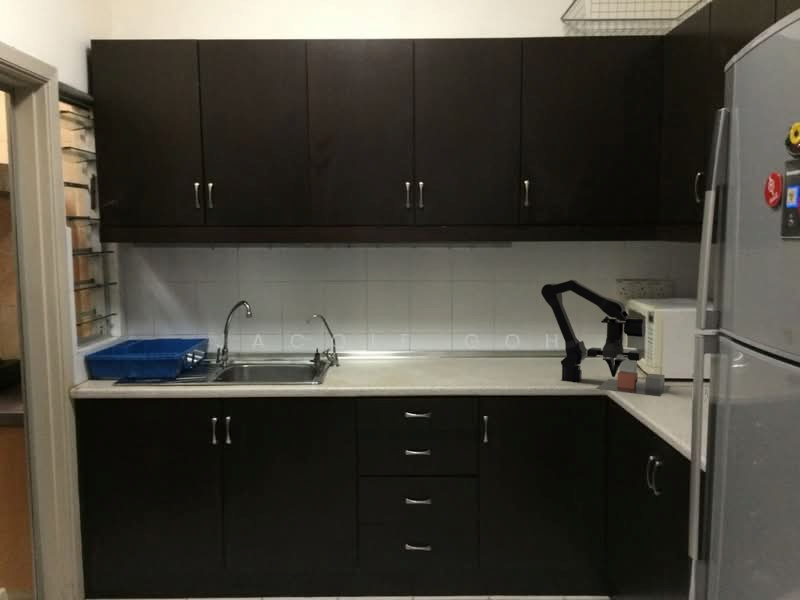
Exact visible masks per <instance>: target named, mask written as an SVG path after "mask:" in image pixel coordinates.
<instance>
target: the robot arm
mask: <svg viewBox="0 0 800 600" xmlns="http://www.w3.org/2000/svg"><path fill="white" fill-rule="evenodd" d="M567 292H572V293H574V294H576V295H578V296H580V297H581V298H583V299H585V300H587V301H588V302H590V303H592V304H594V305H595V306H597V307H598V308H599V309H600V310H601V311H602V312H603V313H604V314H605V315H607V316H605V317H604V318H603V319H602V320H601V323H603V324H606V338H605V342H604V345H603V347H602V348H601V347H590V348H588V349H587V347H586V346H585V342H584V340H581V341H580V340H579V339H578V338H577V337H576V334H575V331H574V328H573V326H572V324H571V321H570V319H569V316H568V314H567V311H566V309H565V307H564V304H563V294H564V293H567ZM540 294H541V296H542V298H543V299H544V300H545V302H546V303H547V305H548V306H549V307H550V308H551V310H552V313H553V316H554V318H555V321H556V322H557V325H558V327H559V331H560V332H561V335H562V337H563V340H564V345H565V353H566V356H565V357H564V358H563V359H561V361H560V365H561V379H560V382H561V381H562V382H569V383H580V382H581V381H582V377H583V376H582V374H583V373H582V369H581V363H583V361H584V360H585V359H586V358H588V357H589V358H596V357H597V356H602V361H605V362H606V364H607V365H608V368H609V371H610V374H611V377H612V378H616V375H617V374H618V372H619V366H620V364H621V362H623V361H624V360H626V358H625V357H627V358H628V359H629V360H633V361H637V362H639V361H641V360H642V359H643V354H642V353H643V352H641V351H639V350H637V351H629V352H628V353H627V352H623V351H624V350H623V347H624V344H623V343H624V335H626V336H627V337H632V338H633V337H634V338H644V337H645V334H646V325H645V319H644V318H641V317H640V318H633V317H632V318H631V316H630V315H629V313H628V312H627V311H626V307H625V304H624V303H623V302H622V301H621V300H617V299H613V298H611V297H606V296H604V295H602V294H600V293H599V292H597V291H595V290H592V289H591V288H589V287H587V286H586V285H584V284H582V283H580V282H578V281H577V279H569V280H567V281H564V282H560V283H548V284H544V285H543V286H542V287H541V292H540Z"/></svg>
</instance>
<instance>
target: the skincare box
mask: <svg viewBox="0 0 800 600" xmlns="http://www.w3.org/2000/svg"><path fill="white" fill-rule="evenodd" d="M623 350H624V351H623V352H627V353H628V352H629V351H638V348H636V347H625V346H623ZM625 358H626V360H624V361H623V362H621V364H620V366H619V368H618V373H619V372H620V371H625V372H634V373H638V361H633V360H629V359H628V358H627V357H625Z"/></svg>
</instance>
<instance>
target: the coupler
mask: <svg viewBox="0 0 800 600" xmlns="http://www.w3.org/2000/svg"><path fill="white" fill-rule="evenodd" d="M669 387H671V386H670V385H666V384H665V374H659V373H650V372H649V374H648V375H646V376H645V382H643V381H637V382H635V389H631V388H623V387H617V379H613V378H609V379H607V380H605V381H604V382H602V383H601V384H599V385H598V386H596V388H595V390H601V391H611V392H617V393H618V392H619V393H626V394H627V393H628V394H636V395H644V396H651V397H661V396H662V395H663V394H664V393H665V392H666V390H669V389H670V388H669ZM668 388H669V389H668Z"/></svg>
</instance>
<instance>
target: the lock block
mask: <svg viewBox="0 0 800 600" xmlns="http://www.w3.org/2000/svg"><path fill="white" fill-rule="evenodd" d="M638 374H639V373H638V372H637V373H634V372H625V371H620V372H619V371H618V372H617V379H616V380H617V387H623V388H631V389H635V382H638Z"/></svg>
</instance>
